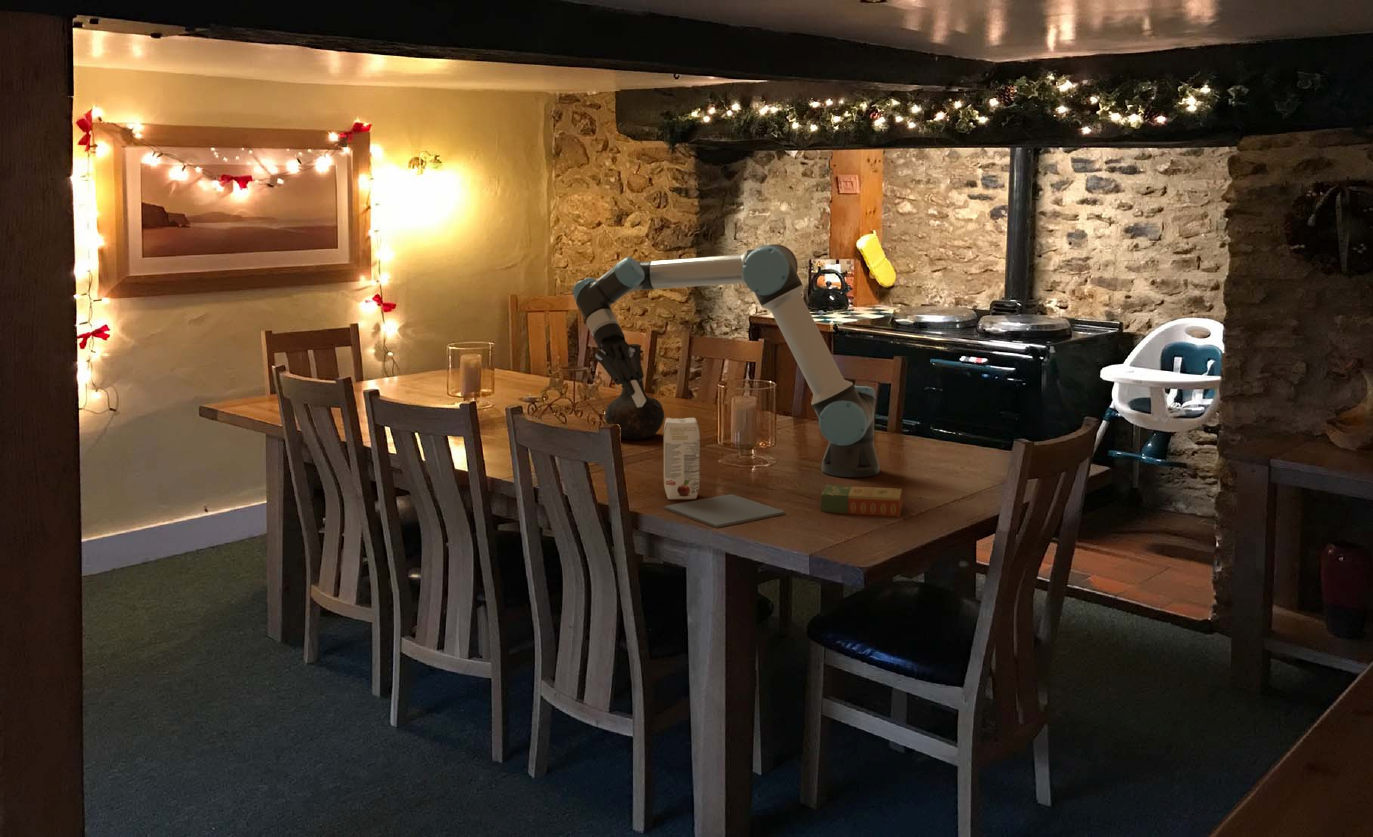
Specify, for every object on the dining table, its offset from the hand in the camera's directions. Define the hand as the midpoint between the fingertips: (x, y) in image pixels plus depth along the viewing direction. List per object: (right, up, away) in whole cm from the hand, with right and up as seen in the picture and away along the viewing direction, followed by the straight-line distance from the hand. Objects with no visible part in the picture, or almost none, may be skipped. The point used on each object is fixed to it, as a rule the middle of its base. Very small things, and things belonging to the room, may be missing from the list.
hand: (641, 403), depth 300 cm
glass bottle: (-4, -9, +62) cm, 63 cm away
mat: (+20, -25, -22) cm, 39 cm away
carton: (+52, -25, -19) cm, 61 cm away
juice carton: (+10, -23, -9) cm, 26 cm away
